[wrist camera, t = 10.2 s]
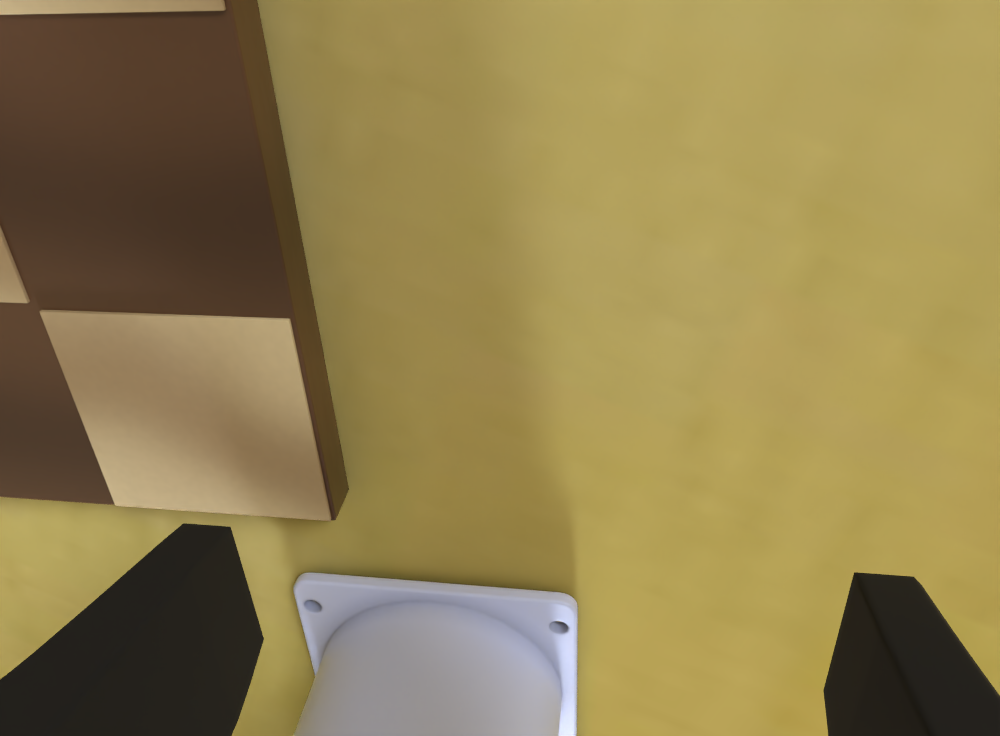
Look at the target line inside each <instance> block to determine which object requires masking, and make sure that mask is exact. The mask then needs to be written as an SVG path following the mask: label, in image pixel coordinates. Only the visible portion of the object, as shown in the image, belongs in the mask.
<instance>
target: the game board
mask: <svg viewBox="0 0 1000 736" xmlns="http://www.w3.org/2000/svg"><path fill="white" fill-rule="evenodd" d="M348 490H349V488H348V483H347V477H346V472H345V467H344V461H343V456H342V451H341V445H340V440H339V435H338V429H337V424H336V419H335V413H334V408H333V403H332V397H331V392H330V387H329V381H328V376H327V371H326V365H325V360H324V355H323V349H322V344H321V339H320V333H319V328H318V323H317V317H316V312H315V307H314V301H313V296H312V291H311V285H310V280H309V275H308V269H307V264H306V259H305V253H304V248H303V243H302V237H301V232H300V227H299V221H298V216H297V211H296V205H295V200H294V195H293V189H292V184H291V179H290V173H289V168H288V163H287V157H286V152H285V147H284V141H283V136H282V131H281V125H280V120H279V115H278V109H277V104H276V99H275V93H274V88H273V83H272V77H271V72H270V67H269V61H268V56H267V51H266V45H265V40H264V35H263V29H262V24H261V19H260V13H259V8H258V3H257V0H0V497H10V498H24V499H38V500H53V501H67V502H81V503H95V504H109V505H115V506H126V507H140V508H154V509H168V510H182V511H196V512H210V513H225V514H239V515H253V516H267V517H281V518H295V519H309V520H324V521H331V520H336V518H337V516H338V514H339V511H340V509H341V507H342V504H343V502H344V499H345V497H346V495H347V492H348Z"/></svg>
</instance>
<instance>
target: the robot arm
mask: <svg viewBox="0 0 1000 736" xmlns="http://www.w3.org/2000/svg"><path fill="white" fill-rule="evenodd" d="M293 592H294V596H295V600H296V604H297V607H298V611H299V615H300V619H301V623H302V627H303V631H304V635H305V639H306V642H307V646H308V650H309V654H310V658H311V662H312V666H313V670H314V674H315V679H314V681H313V684H312V687H311V689H310V692H309V695H308V697H307V700H306V703H305V705H304V708H303V711H302V713H301V716H300V719H299V721H298V724H297V727H296V729H295V732H294V735H293V736H577V653H578V605H577V602H576V600H575V599H574V598H573V597H571V596H570V595H568V594H566V593H561V592H551V591H539V590H526V589H514V588H501V587H488V586H476V585H463V584H451V583H438V582H426V581H413V580H401V579H388V578H376V577H363V576H351V575H338V574H326V573H313V572H310V573H303V574H301V575H299V577H298V578H297V580H296V582H295V585H294V587H293ZM557 621H561V622H557ZM263 640H264V638H263V635H262V631H261V628H260V625H259V621H258V618H257V614H256V611H255V608H254V604H253V601H252V598H251V594H250V591H249V588H248V584H247V581H246V578H245V574H244V571H243V567H242V564H241V561H240V557H239V554H238V551H237V547H236V544H235V541H234V537H233V534H232V530H231V527H225V526H211V525H197V524H182V525H181V526H180V527H179V528H178V529H176V530H175V531H174V532H173V533H172V534H170V535H169V536H168V537H167V538H166V539H164V540H163V541H162V542H161V543H160V544H159V545H157V546H156V547H155V548H154V549H153V550H152V551H151V552H149V553H148V554H147V555H146V556H145V557H144V558H143V559H141V560H140V561H139V562H138V563H137V564H136V565H135V566H133V567H132V568H131V569H130V570H129V571H128V572H127V573H126V574H124V575H123V576H122V577H121V578H120V579H119V580H118V581H116V582H115V583H114V584H113V585H112V586H111V587H110V588H108V589H107V590H106V591H105V592H104V593H103V594H102V595H100V596H99V597H98V598H97V599H96V600H95V601H94V602H92V603H91V604H90V605H89V606H88V607H87V608H85V609H84V610H83V611H82V612H81V613H80V614H78V615H77V616H76V617H75V618H74V619H73V620H71V621H70V622H69V623H68V624H67V625H66V626H64V627H63V628H62V629H61V630H60V631H59V632H57V633H56V634H55V635H54V636H53V637H52V638H50V639H49V640H48V641H47V642H46V643H45V644H43V645H42V646H41V647H40V648H39V649H38V650H36V651H35V652H34V653H33V654H32V655H30V656H29V657H28V658H27V659H26V660H24V661H23V662H22V663H21V664H19V665H18V666H17V667H16V668H14V669H13V670H12V671H11V672H9V673H8V674H7V675H6V676H4V677H3V678H2V679H1V680H0V736H231V735H232V733H233V730H234V728H235V726H236V723H237V721H238V719H239V716H240V713H241V710H242V707H243V704H244V701H245V698H246V695H247V692H248V689H249V686H250V683H251V679H252V676H253V673H254V669H255V666H256V663H257V659H258V656H259V653H260V650H261V646H262V643H263ZM824 698H825V708H826V717H827V726H828V735H829V736H1000V696H999V694H998V693H997V692H996V690H995V689H994V687H993V686H992V685H991V683H990V682H989V680H988V679H987V678H986V676H985V675H984V674H983V672H982V671H981V669H980V668H979V667H978V665H977V664H976V663H975V661H974V660H973V658H972V657H971V656H970V654H969V653H968V651H967V650H966V649H965V647H964V646H963V644H962V643H961V641H960V640H959V639H958V637H957V636H956V634H955V633H954V631H953V630H952V629H951V627H950V626H949V624H948V623H947V621H946V620H945V619H944V617H943V616H942V614H941V613H940V611H939V610H938V608H937V607H936V605H935V604H934V603H933V601H932V600H931V598H930V597H929V595H928V594H927V592H926V591H925V589H924V588H923V587H922V585H921V584H920V583H919V582H918V581H917V580H916V579H915V578H914V577H910V576H896V575H882V574H869V573H855V572H854V576H853V580H852V583H851V587H850V591H849V595H848V599H847V603H846V606H845V610H844V614H843V618H842V622H841V626H840V629H839V633H838V637H837V641H836V645H835V649H834V652H833V656H832V660H831V664H830V668H829V672H828V675H827V679H826V683H825V687H824Z"/></svg>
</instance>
